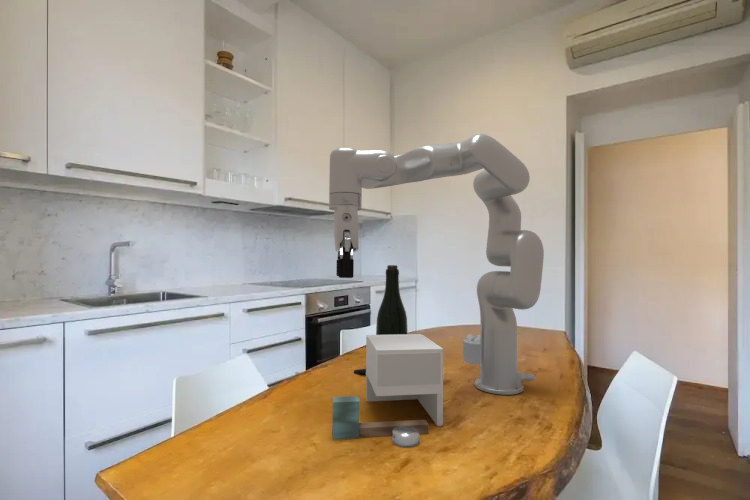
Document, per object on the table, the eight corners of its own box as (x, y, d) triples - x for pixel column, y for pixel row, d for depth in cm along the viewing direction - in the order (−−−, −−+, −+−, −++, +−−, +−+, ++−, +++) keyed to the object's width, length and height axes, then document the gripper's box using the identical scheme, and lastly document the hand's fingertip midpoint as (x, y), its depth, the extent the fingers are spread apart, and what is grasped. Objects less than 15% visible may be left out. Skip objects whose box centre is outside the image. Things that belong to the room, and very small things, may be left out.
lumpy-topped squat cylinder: (501, 360, 136) (501, 335, 136) (482, 367, 127) (482, 340, 127) (475, 355, 144) (475, 331, 144) (455, 361, 134) (455, 336, 135)
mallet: (424, 428, 79) (424, 393, 80) (428, 434, 76) (428, 398, 77) (332, 433, 77) (332, 397, 77) (332, 439, 74) (333, 402, 74)
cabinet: (421, 397, 97) (421, 334, 98) (443, 425, 80) (443, 348, 81) (365, 399, 95) (366, 335, 96) (376, 429, 78) (376, 350, 79)
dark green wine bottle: (413, 366, 127) (414, 265, 128) (397, 373, 118) (398, 265, 120) (385, 361, 133) (386, 264, 134) (369, 368, 124) (370, 264, 125)
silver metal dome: (410, 434, 77) (410, 424, 77) (424, 445, 72) (424, 434, 72) (387, 439, 74) (387, 428, 75) (400, 450, 70) (400, 439, 70)
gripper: (366, 197, 82) (365, 278, 81) (357, 208, 99) (356, 275, 99) (330, 196, 81) (329, 278, 80) (328, 207, 98) (327, 275, 97)
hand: (344, 276), depth 89 cm, fingers open, 9 cm apart
